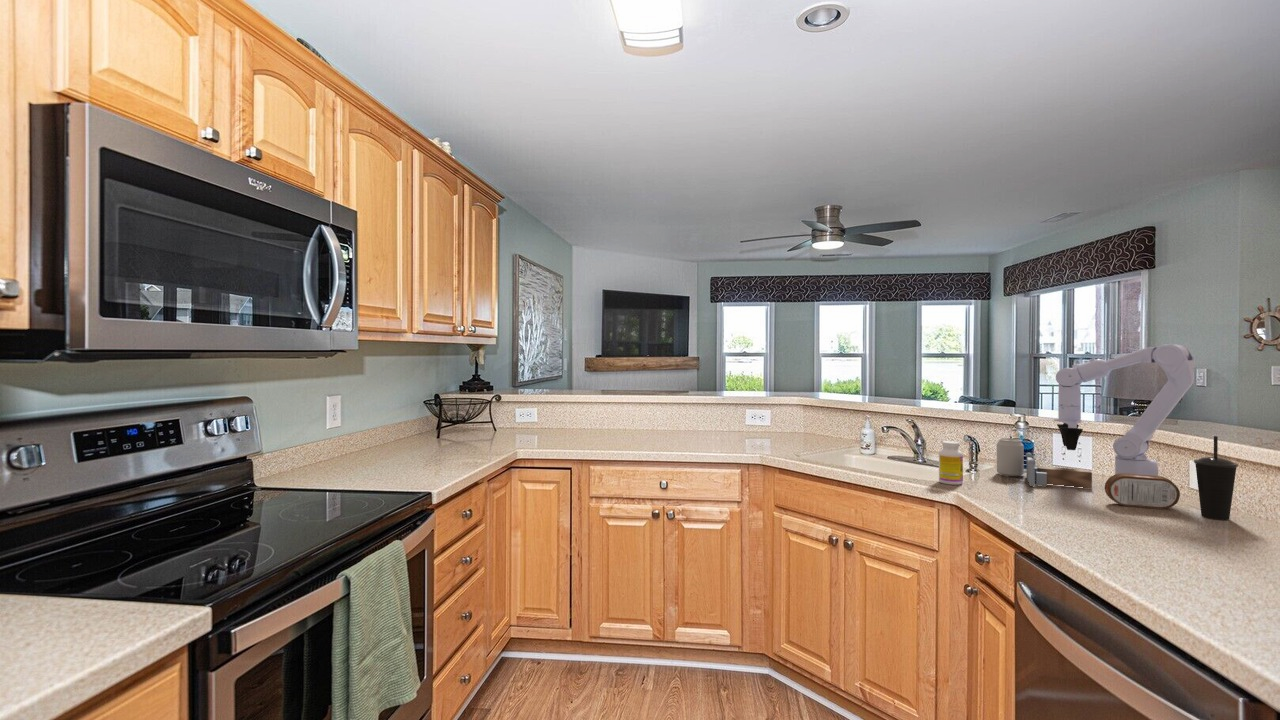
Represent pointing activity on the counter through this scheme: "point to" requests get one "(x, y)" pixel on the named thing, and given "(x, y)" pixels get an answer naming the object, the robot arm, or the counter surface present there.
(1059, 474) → the rail
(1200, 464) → the drinking cup
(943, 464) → the supplement bottle
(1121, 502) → the tin
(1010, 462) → the can
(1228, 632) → the counter surface
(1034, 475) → the grey blocky bracket
